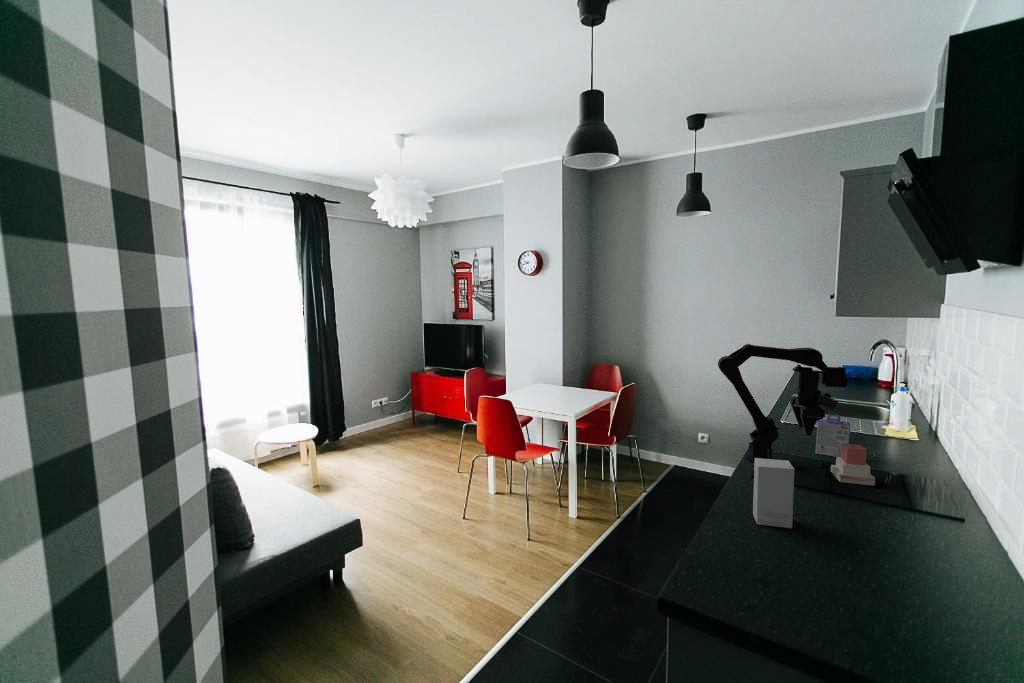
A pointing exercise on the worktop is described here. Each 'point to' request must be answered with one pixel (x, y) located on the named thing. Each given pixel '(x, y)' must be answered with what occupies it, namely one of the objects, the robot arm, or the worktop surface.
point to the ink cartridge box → (832, 436)
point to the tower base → (852, 477)
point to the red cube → (853, 454)
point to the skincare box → (773, 492)
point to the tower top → (852, 468)
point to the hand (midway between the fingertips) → (804, 431)
